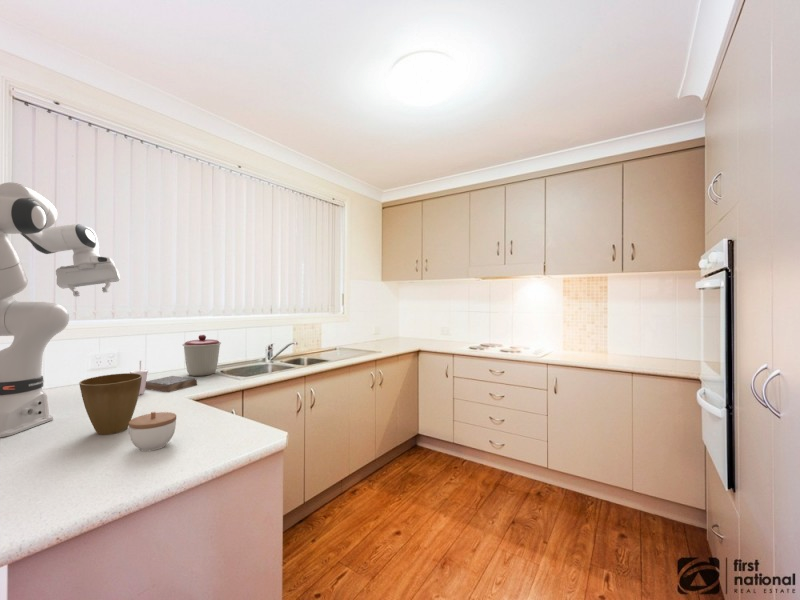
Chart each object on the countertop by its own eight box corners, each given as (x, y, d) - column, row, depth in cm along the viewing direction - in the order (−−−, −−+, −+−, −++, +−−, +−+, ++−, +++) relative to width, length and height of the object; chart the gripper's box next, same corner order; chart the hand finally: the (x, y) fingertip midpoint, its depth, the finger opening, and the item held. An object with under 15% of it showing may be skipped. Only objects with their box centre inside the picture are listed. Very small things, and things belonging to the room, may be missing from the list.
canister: (173, 376, 186) (173, 335, 186) (202, 370, 203) (202, 332, 203) (201, 379, 181) (201, 336, 181) (228, 372, 198) (228, 333, 198)
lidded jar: (168, 436, 106) (168, 404, 106) (182, 445, 99) (182, 411, 99) (123, 447, 98) (123, 412, 98) (135, 458, 91) (135, 421, 91)
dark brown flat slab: (168, 391, 155) (168, 384, 155) (142, 388, 161) (142, 381, 161) (196, 384, 168) (196, 378, 168) (172, 381, 174) (172, 375, 174)
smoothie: (140, 396, 148) (140, 362, 148) (125, 395, 149) (125, 362, 149) (151, 392, 155) (151, 359, 155) (137, 391, 155) (137, 359, 155)
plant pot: (92, 425, 114) (92, 375, 114) (148, 420, 119) (148, 371, 119) (68, 443, 100) (68, 385, 100) (132, 436, 105) (132, 381, 105)
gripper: (51, 263, 144) (54, 295, 141) (114, 257, 153) (118, 286, 150) (58, 270, 150) (61, 301, 146) (119, 263, 159) (123, 292, 156)
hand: (91, 293), depth 148 cm, fingers open, 8 cm apart
